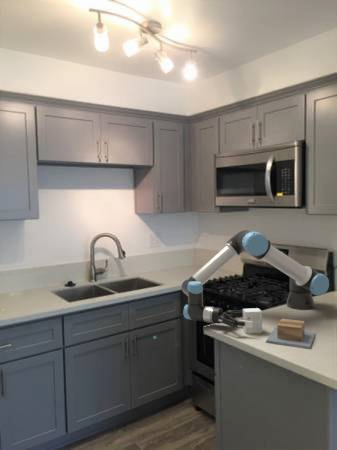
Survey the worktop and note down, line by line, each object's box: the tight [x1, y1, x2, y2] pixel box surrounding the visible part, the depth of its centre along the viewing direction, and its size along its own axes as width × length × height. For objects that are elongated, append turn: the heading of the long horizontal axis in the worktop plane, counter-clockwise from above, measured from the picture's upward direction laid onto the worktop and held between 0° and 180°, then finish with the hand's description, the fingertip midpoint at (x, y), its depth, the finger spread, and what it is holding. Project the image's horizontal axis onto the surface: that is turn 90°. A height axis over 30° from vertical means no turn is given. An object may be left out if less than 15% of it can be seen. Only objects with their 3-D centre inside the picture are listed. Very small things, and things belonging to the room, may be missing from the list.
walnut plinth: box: [276, 318, 306, 342], centre depth 169 cm, size 10×10×6 cm
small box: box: [242, 307, 263, 335], centre depth 179 cm, size 8×6×10 cm
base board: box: [265, 327, 316, 350], centre depth 169 cm, size 18×18×1 cm
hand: (256, 320), depth 177 cm, fingers open, 13 cm apart
